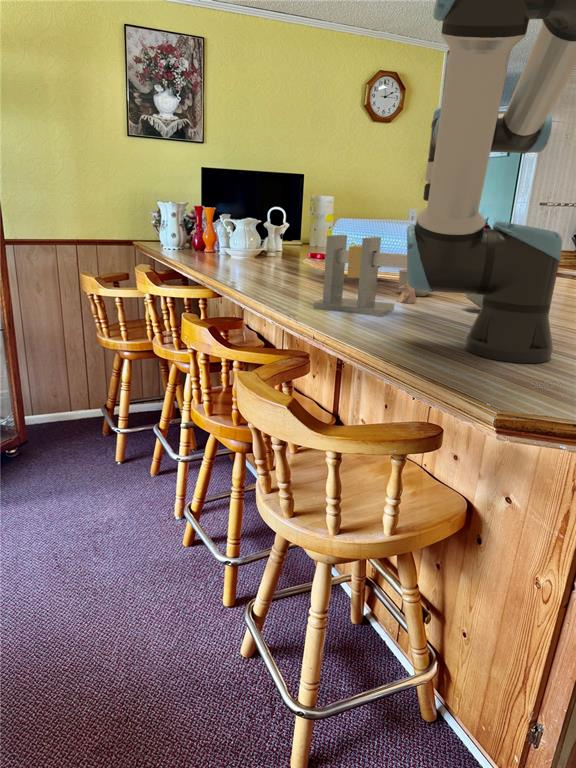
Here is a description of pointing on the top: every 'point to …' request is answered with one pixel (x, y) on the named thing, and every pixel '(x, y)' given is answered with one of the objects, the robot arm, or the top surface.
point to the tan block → (354, 261)
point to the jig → (366, 280)
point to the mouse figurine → (407, 294)
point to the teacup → (403, 280)
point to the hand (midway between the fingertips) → (428, 286)
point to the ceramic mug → (475, 299)
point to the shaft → (380, 259)
